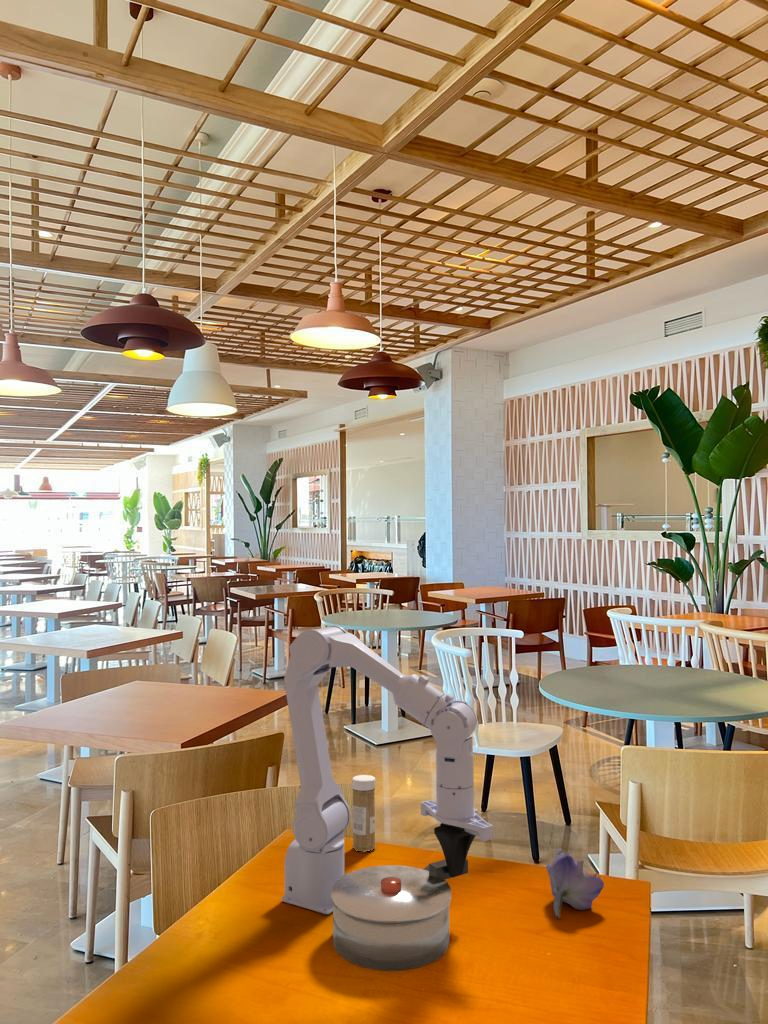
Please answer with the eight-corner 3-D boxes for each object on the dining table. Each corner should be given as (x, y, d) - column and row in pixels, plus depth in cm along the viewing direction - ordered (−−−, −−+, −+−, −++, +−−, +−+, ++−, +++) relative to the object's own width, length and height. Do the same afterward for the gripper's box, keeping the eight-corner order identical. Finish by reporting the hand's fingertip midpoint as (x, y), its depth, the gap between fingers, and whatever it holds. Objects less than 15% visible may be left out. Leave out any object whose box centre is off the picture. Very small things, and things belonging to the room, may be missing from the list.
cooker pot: (414, 984, 97) (414, 936, 98) (309, 949, 106) (309, 905, 107) (484, 912, 117) (484, 873, 117) (391, 888, 126) (391, 852, 126)
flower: (579, 887, 111) (583, 836, 120) (529, 899, 115) (536, 849, 124) (610, 932, 113) (612, 878, 122) (560, 942, 117) (565, 889, 125)
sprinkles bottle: (380, 849, 143) (380, 778, 144) (359, 855, 140) (359, 782, 141) (367, 842, 147) (367, 772, 148) (347, 847, 144) (347, 776, 145)
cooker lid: (370, 936, 97) (370, 916, 98) (310, 887, 112) (310, 869, 112) (501, 896, 109) (501, 877, 109) (431, 856, 124) (431, 839, 124)
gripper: (507, 790, 111) (508, 884, 110) (444, 769, 123) (444, 854, 122) (472, 799, 107) (473, 897, 106) (410, 776, 119) (410, 864, 118)
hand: (455, 875), depth 114 cm, fingers closed
